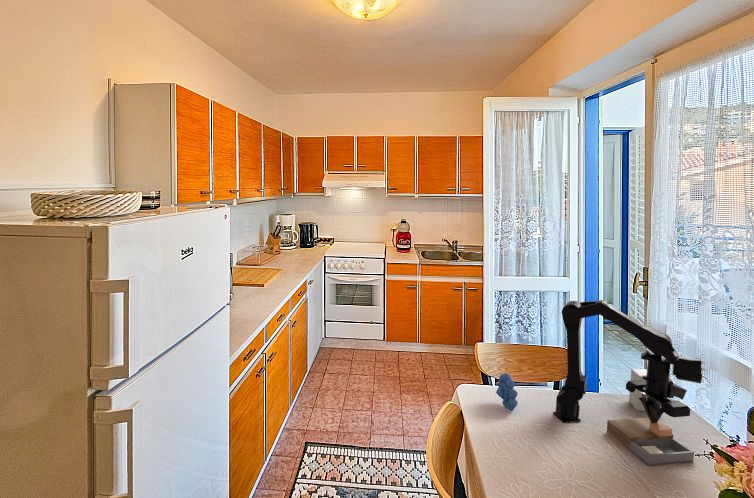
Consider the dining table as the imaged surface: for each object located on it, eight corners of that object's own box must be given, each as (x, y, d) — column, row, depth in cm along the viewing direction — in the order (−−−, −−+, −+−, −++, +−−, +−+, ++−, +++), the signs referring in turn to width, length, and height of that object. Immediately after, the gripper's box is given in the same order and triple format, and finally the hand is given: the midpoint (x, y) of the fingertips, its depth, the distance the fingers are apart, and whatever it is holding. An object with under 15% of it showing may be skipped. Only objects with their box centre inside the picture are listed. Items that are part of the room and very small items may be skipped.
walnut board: (629, 450, 124) (630, 437, 124) (606, 432, 134) (607, 420, 133) (672, 447, 126) (673, 434, 125) (646, 429, 136) (647, 417, 135)
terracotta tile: (659, 436, 124) (660, 430, 124) (649, 429, 128) (649, 423, 128) (671, 435, 125) (672, 429, 125) (661, 428, 129) (661, 422, 129)
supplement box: (659, 412, 147) (662, 377, 145) (636, 410, 148) (639, 375, 147) (650, 402, 154) (653, 369, 152) (628, 400, 155) (630, 367, 154)
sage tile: (641, 446, 122) (640, 452, 122) (651, 454, 118) (650, 461, 118) (654, 445, 122) (653, 452, 122) (664, 453, 118) (664, 460, 118)
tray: (648, 466, 117) (649, 455, 117) (629, 450, 124) (630, 441, 124) (693, 462, 119) (694, 452, 118) (672, 447, 126) (673, 437, 126)
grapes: (488, 400, 154) (489, 369, 153) (505, 399, 156) (507, 368, 154) (502, 416, 143) (504, 382, 142) (521, 415, 144) (523, 381, 143)
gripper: (709, 387, 119) (704, 439, 121) (657, 361, 138) (653, 407, 140) (674, 389, 118) (669, 442, 120) (626, 363, 136) (622, 409, 138)
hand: (653, 424), depth 129 cm, fingers closed
